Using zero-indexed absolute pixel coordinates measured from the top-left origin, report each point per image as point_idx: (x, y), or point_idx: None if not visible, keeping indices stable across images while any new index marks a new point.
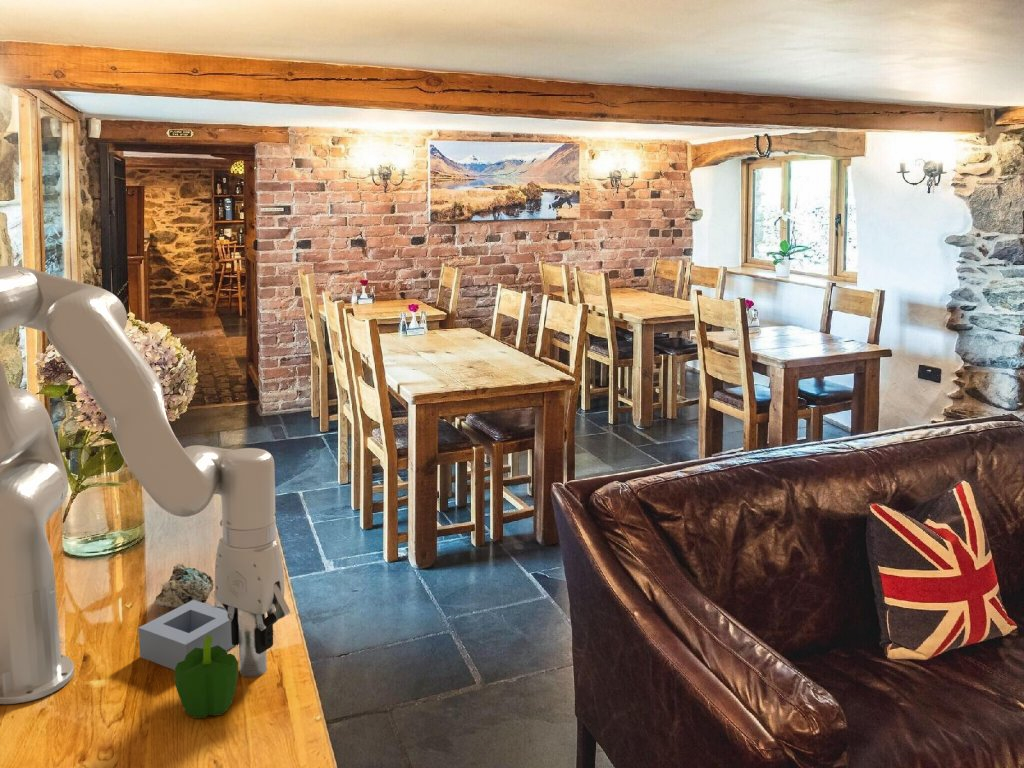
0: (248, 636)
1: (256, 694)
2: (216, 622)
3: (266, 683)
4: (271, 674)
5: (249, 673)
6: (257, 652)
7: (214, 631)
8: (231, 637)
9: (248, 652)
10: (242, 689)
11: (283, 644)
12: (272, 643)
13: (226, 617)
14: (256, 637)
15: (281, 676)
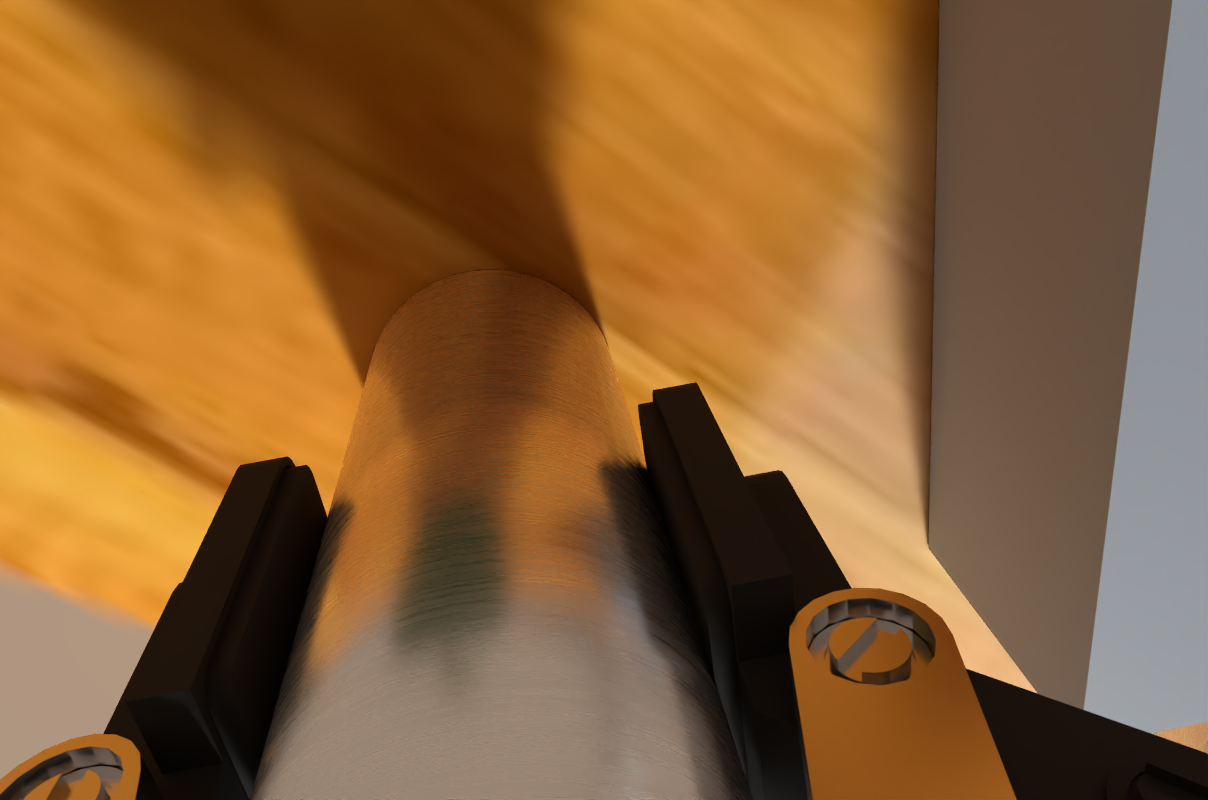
0: (360, 541)
1: (82, 153)
2: (1190, 520)
3: (205, 334)
4: (314, 447)
5: (408, 308)
6: (255, 465)
7: (1093, 411)
8: (977, 524)
9: (394, 410)
10: (269, 118)
11: None
12: None
13: (1160, 643)
14: (205, 596)
15: (221, 482)
